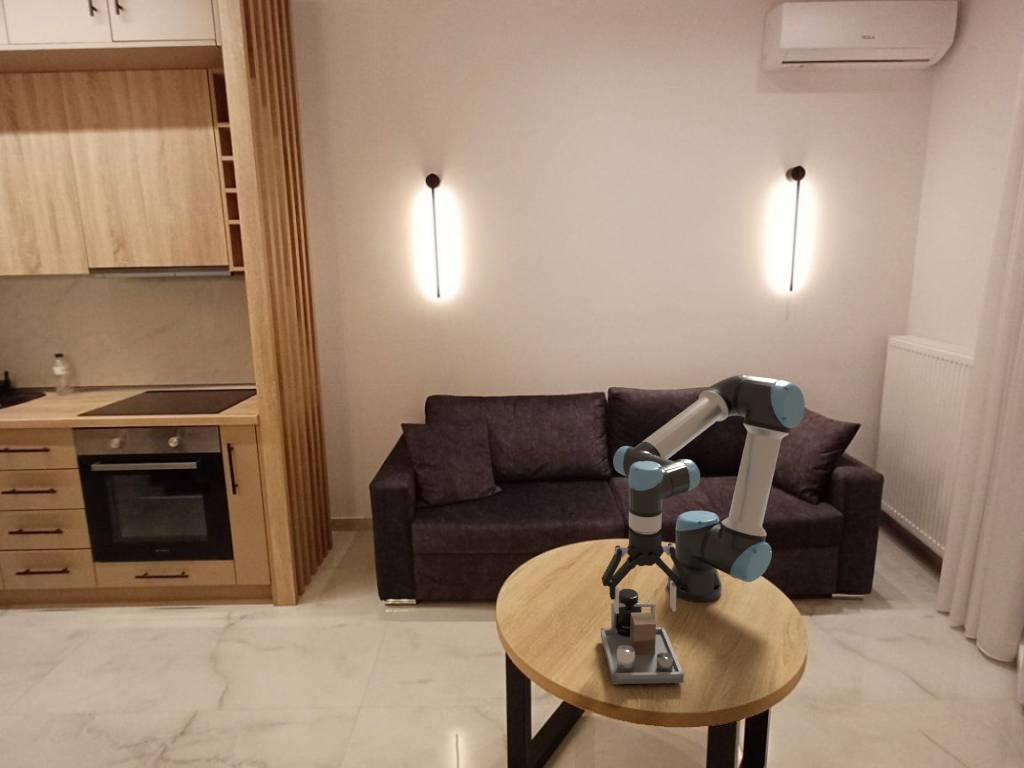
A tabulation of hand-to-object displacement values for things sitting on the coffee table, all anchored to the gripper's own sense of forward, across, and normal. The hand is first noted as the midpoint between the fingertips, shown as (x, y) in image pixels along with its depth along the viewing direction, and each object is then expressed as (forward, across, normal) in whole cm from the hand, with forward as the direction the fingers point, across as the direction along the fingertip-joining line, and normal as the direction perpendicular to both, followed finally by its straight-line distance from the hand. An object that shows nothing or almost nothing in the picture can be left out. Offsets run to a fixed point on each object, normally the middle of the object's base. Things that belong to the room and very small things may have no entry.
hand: (644, 609), depth 148 cm
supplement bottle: (+12, +3, -7) cm, 15 cm away
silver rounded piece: (+10, +6, +8) cm, 14 cm away
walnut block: (+10, +1, 0) cm, 10 cm away
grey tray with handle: (+12, +2, +3) cm, 13 cm away
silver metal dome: (+10, -3, +8) cm, 13 cm away
